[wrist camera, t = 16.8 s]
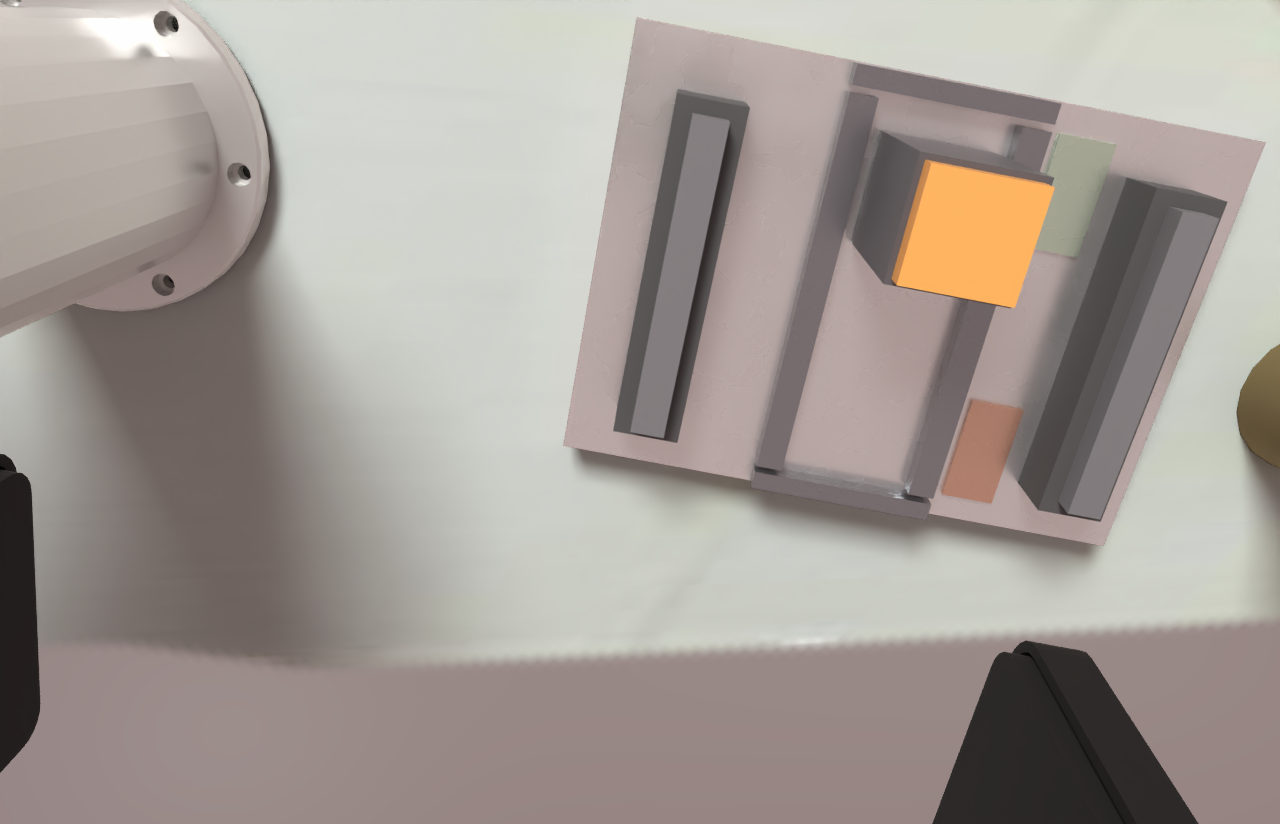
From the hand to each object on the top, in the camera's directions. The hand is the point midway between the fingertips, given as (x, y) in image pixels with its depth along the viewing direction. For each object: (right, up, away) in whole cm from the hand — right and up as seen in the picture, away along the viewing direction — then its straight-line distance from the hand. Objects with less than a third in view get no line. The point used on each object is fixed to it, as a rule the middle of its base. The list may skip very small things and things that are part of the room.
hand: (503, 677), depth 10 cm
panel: (+11, +7, +29) cm, 32 cm away
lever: (+11, +10, +26) cm, 30 cm away
